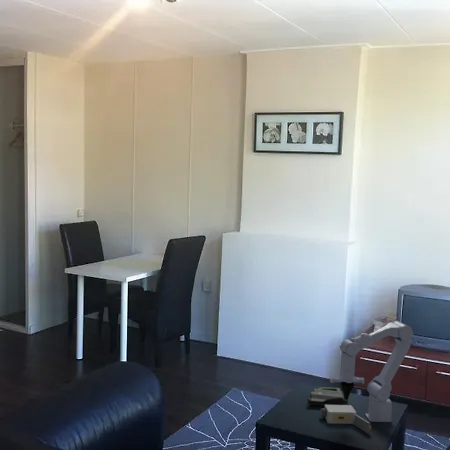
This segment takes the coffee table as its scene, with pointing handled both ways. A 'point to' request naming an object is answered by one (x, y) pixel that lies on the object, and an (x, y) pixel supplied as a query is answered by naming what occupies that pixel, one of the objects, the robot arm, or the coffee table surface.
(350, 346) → the robot arm
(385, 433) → the coffee table surface
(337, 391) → the camcorder
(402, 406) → the coffee table surface
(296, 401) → the coffee table surface
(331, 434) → the coffee table surface
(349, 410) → the camera case
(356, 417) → the side door
